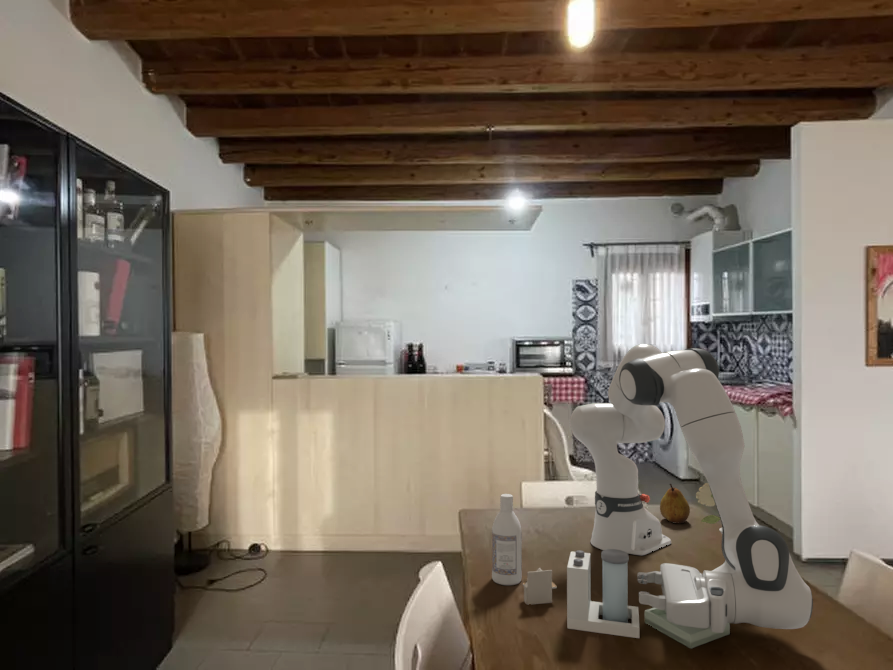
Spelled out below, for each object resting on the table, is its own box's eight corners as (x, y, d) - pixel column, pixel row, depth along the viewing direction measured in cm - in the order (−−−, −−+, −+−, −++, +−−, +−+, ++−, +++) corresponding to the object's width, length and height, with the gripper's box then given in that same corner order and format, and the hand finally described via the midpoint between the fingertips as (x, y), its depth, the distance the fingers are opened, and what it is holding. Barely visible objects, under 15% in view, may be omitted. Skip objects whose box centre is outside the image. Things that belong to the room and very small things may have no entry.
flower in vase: (755, 585, 135) (755, 476, 135) (764, 607, 125) (764, 489, 125) (694, 578, 140) (694, 472, 140) (698, 598, 129) (697, 484, 129)
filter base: (638, 616, 120) (638, 554, 120) (639, 638, 112) (639, 571, 112) (571, 608, 124) (570, 547, 124) (567, 628, 116) (567, 563, 116)
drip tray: (682, 610, 123) (682, 598, 123) (729, 634, 113) (729, 621, 113) (644, 622, 118) (644, 610, 118) (690, 648, 108) (690, 634, 108)
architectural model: (521, 600, 129) (521, 566, 129) (551, 597, 131) (551, 563, 131) (526, 607, 126) (526, 572, 126) (557, 604, 127) (557, 569, 127)
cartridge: (615, 615, 121) (615, 547, 121) (634, 626, 116) (634, 555, 116) (596, 621, 118) (595, 552, 118) (614, 632, 114) (614, 560, 114)
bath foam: (503, 571, 144) (502, 489, 144) (527, 579, 139) (527, 494, 139) (486, 580, 138) (486, 495, 138) (510, 588, 134) (510, 501, 134)
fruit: (681, 516, 188) (681, 478, 188) (695, 525, 179) (695, 485, 179) (655, 516, 187) (655, 479, 187) (667, 525, 178) (667, 486, 178)
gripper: (706, 559, 122) (636, 552, 126) (723, 602, 103) (639, 592, 107) (706, 589, 122) (636, 581, 126) (723, 638, 103) (639, 627, 107)
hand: (638, 587), depth 116 cm, fingers open, 8 cm apart
